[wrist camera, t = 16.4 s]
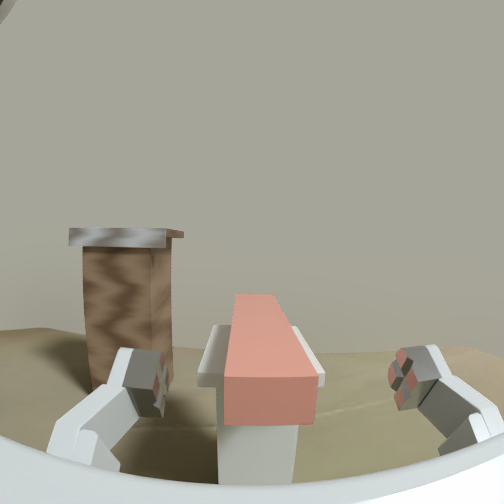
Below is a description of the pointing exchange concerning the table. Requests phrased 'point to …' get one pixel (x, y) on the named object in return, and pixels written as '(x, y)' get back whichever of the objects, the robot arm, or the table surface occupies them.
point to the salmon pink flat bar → (266, 368)
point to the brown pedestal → (125, 293)
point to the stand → (249, 437)
